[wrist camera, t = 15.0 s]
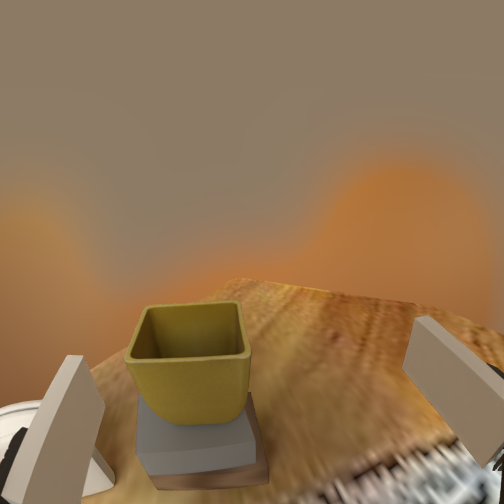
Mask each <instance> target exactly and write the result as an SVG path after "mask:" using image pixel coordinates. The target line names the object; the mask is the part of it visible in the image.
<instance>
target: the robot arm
mask: <svg viewBox="0 0 504 504" xmlns="http://www.w3.org/2000/svg"><path fill="white" fill-rule="evenodd" d="M402 370H403V371H404V372H405V373H406V375H407V376H408V377H409V378H410V379H411V381H412V382H413V383H414V384H415V385H416V387H417V388H418V389H419V390H420V391H421V393H422V394H423V395H424V396H425V397H426V399H427V400H428V401H429V402H430V403H431V405H432V406H433V407H434V408H435V410H436V411H437V412H438V413H439V415H440V416H441V417H442V418H443V419H444V421H445V422H446V423H447V424H448V426H449V427H450V428H451V429H452V431H453V432H454V433H455V434H456V436H457V437H458V438H459V440H460V441H461V442H462V443H463V445H464V446H465V447H466V448H467V450H468V451H469V452H470V454H471V455H472V456H473V458H474V459H475V460H476V461H477V463H478V464H479V465H480V467H481V468H483V467H484V466H486V465H487V464H488V463H490V462H491V461H492V460H494V459H495V458H496V457H497V455H498V454H499V453H500V452H501V450H502V449H504V373H503V372H502V371H501V370H499V369H498V368H497V367H495V366H493V365H490V364H488V363H485V362H483V361H482V360H481V359H480V358H479V357H478V356H477V355H475V354H474V353H473V352H472V351H471V350H470V349H468V348H467V347H466V346H465V345H464V344H463V343H461V342H460V341H459V340H458V339H457V338H455V337H454V336H453V335H452V334H451V333H450V332H448V331H447V330H446V329H445V328H443V327H442V326H441V325H440V324H439V323H437V322H436V321H435V320H434V319H432V318H431V317H430V316H429V315H425V316H421V317H417V318H415V319H414V324H413V328H412V332H411V336H410V340H409V344H408V348H407V352H406V355H405V359H404V362H403V366H402ZM105 408H106V406H105V404H104V402H103V399H102V397H101V395H100V393H99V391H98V389H97V386H96V384H95V382H94V380H93V377H92V375H91V372H90V370H89V368H88V365H87V363H86V360H85V358H84V356H75V355H74V356H72V355H67V357H66V359H65V360H64V362H63V364H62V365H61V367H60V369H59V371H58V372H57V374H56V376H55V378H54V380H53V382H52V383H51V385H50V387H49V389H48V391H47V393H46V394H45V396H44V398H43V400H42V402H41V404H40V406H39V408H38V410H37V412H36V414H35V416H34V418H33V420H32V422H31V424H30V426H29V428H25V427H22V428H21V429H20V430H19V431H18V432H17V433H16V434H15V435H14V436H13V437H12V439H11V441H10V444H9V446H8V450H6V452H5V454H4V458H3V459H2V461H1V464H0V504H81V499H82V494H83V490H84V485H85V481H86V477H87V473H88V469H89V465H90V461H91V457H92V453H93V449H94V445H95V442H96V438H97V435H98V431H99V428H100V424H101V421H102V418H103V414H104V411H105ZM501 463H502V465H501V466H500V467H499V469H498V471H502V478H501V491H500V501H499V504H504V454H503V455H502V456H501V457H500V459H499V460H498V461H497V462H496V464H495V465H494V467H493V470H492V471H495V470H496V469H497V468H498V466H499V465H500V464H501Z"/></svg>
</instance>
